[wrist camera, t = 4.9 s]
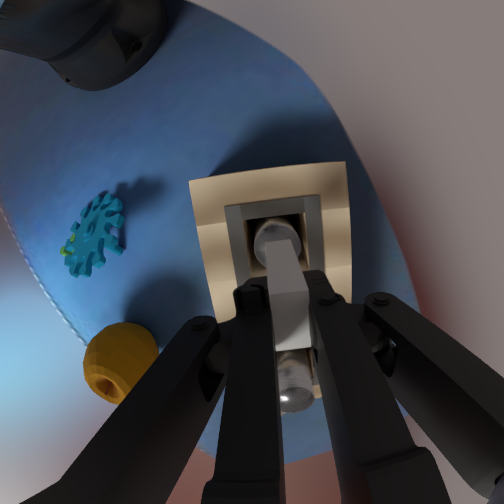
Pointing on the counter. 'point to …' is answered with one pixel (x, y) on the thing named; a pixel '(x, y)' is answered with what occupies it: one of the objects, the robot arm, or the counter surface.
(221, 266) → the socket block
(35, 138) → the counter surface
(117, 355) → the apple
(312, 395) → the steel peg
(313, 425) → the counter surface
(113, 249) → the teal knobby branched piece
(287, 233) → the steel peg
